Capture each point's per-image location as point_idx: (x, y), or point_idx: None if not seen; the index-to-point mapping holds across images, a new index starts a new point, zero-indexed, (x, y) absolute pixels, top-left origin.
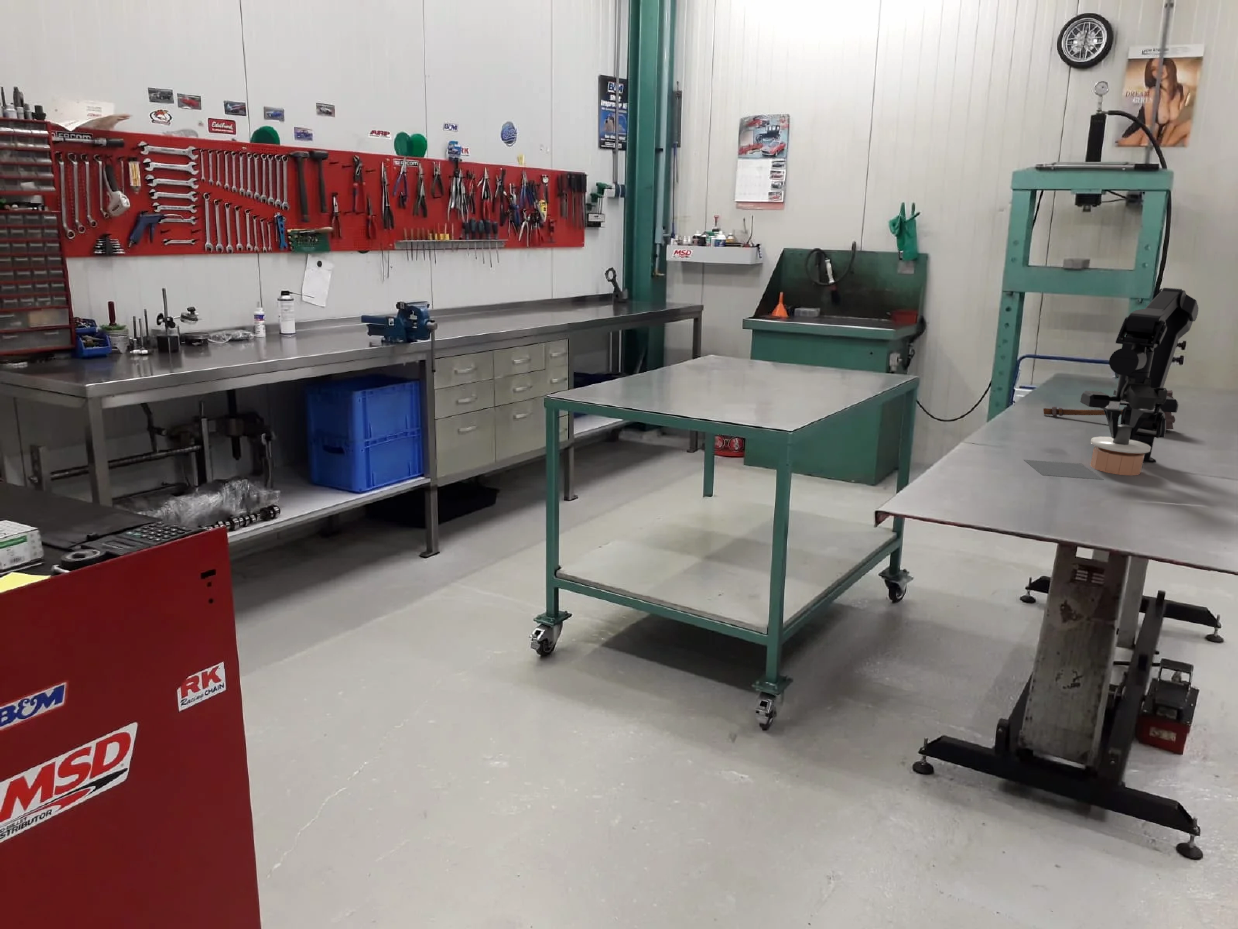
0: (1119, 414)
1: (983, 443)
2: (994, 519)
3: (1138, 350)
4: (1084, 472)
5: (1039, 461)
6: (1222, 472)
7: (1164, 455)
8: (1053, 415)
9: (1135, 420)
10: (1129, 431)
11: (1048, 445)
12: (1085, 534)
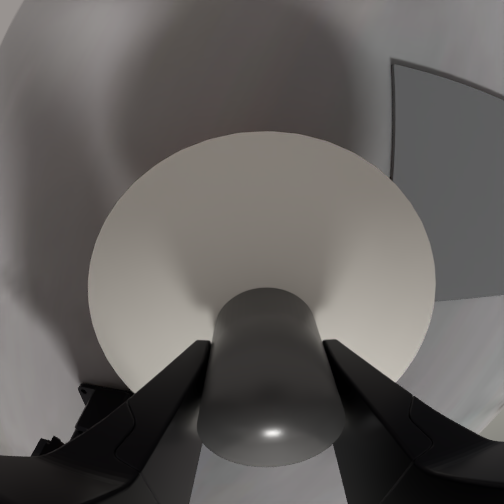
0: (473, 472)
1: (483, 417)
2: None
3: None
4: (431, 161)
5: (494, 286)
6: None
7: (63, 433)
8: None
9: (163, 474)
10: (237, 358)
11: (338, 468)
12: None
